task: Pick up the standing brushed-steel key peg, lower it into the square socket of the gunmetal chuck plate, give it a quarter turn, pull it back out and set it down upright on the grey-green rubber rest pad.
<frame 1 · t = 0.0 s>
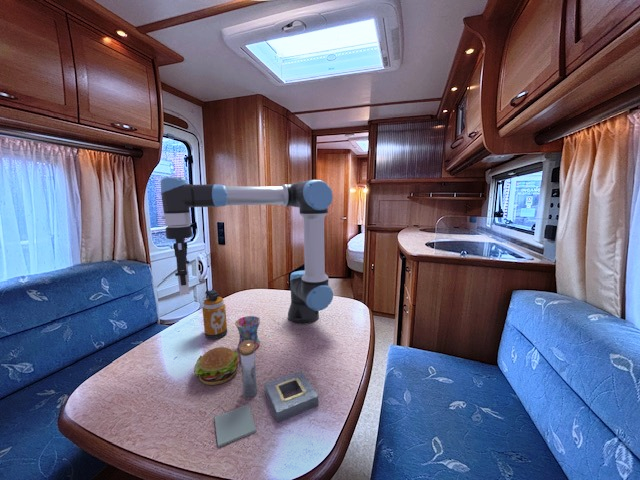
hand: (185, 287, 88), 28 cm above the table, fingers open, 13 cm apart
rest pad: (234, 425, 66), on the table
canister: (215, 334, 112), on the table
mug: (251, 344, 103), on the table
key peg: (250, 392, 77), on the table
chuck plate: (290, 398, 75), on the table
food: (217, 374, 86), on the table
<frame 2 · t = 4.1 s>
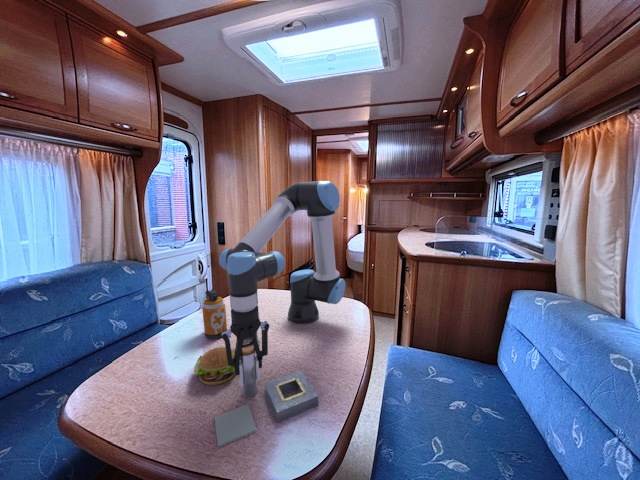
hand: (249, 380, 77), 4 cm above the table, fingers closed on key peg, 4 cm apart
key peg: (250, 392, 77), on the table, touching gripper
everything else where it was.
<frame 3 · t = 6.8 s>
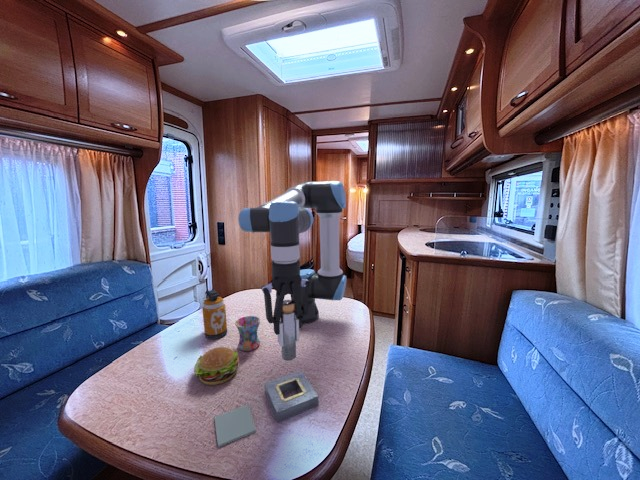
hand: (288, 341, 72), 18 cm above the table, fingers closed on key peg, 4 cm apart
key peg: (289, 356, 72), point 14 cm above the table, touching gripper
everything else where it was.
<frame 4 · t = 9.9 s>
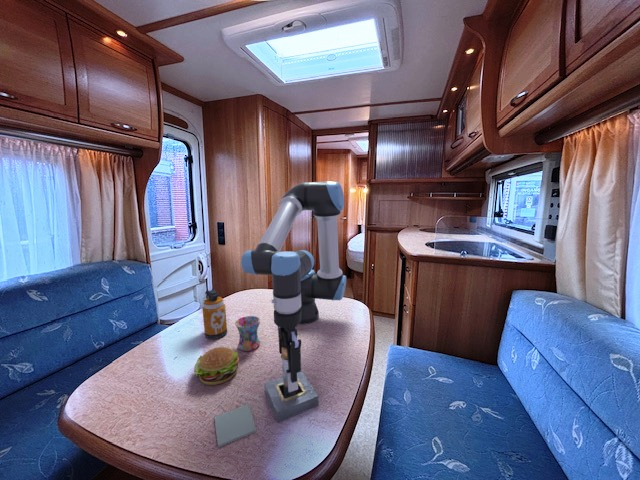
hand: (290, 384, 74), 5 cm above the table, fingers closed on key peg, 4 cm apart
key peg: (291, 398, 75), resting in chuck plate, touching gripper
everything else where it was.
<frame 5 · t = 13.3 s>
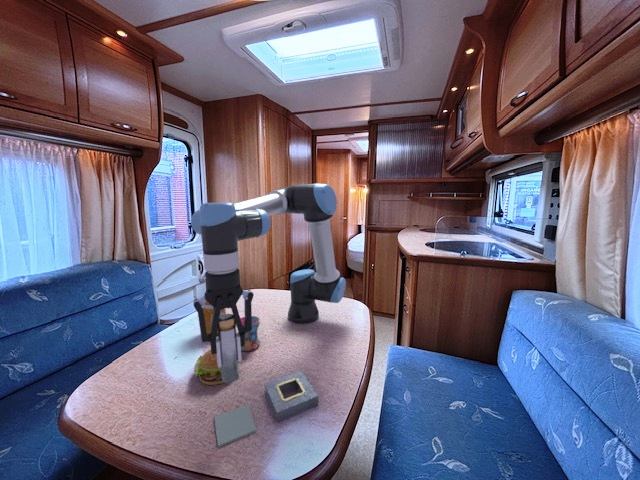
hand: (229, 361, 63), 18 cm above the table, fingers closed on key peg, 4 cm apart
key peg: (230, 377, 64), point 14 cm above the table, touching gripper
everything else where it was.
when the fingers open (5 cm above the table, at t = 15.7 s): key peg stays where it is, resting on rest pad.
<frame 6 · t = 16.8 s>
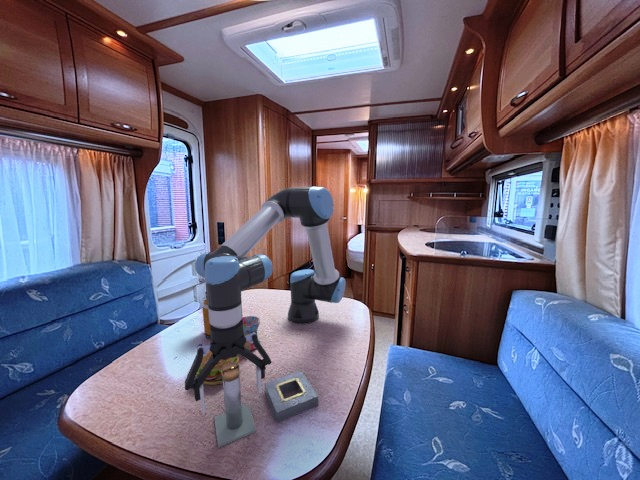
hand: (232, 399, 65), 8 cm above the table, fingers open, 13 cm apart
key peg: (234, 423, 66), point 1 cm above the table, touching rest pad
everything else where it was.
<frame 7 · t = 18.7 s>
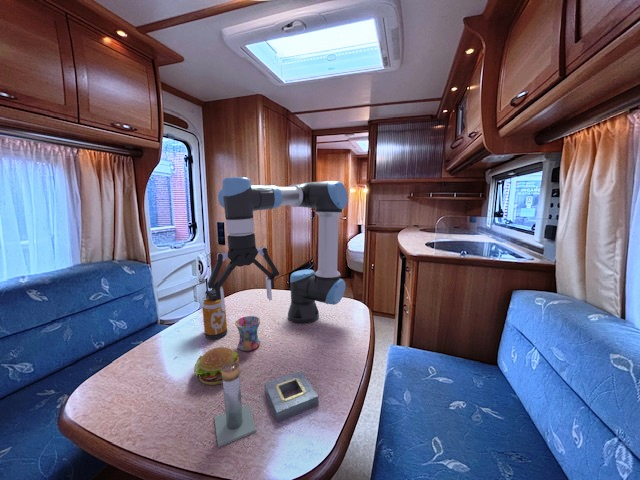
hand: (247, 303, 76), 27 cm above the table, fingers open, 13 cm apart
nothing on the table moved.
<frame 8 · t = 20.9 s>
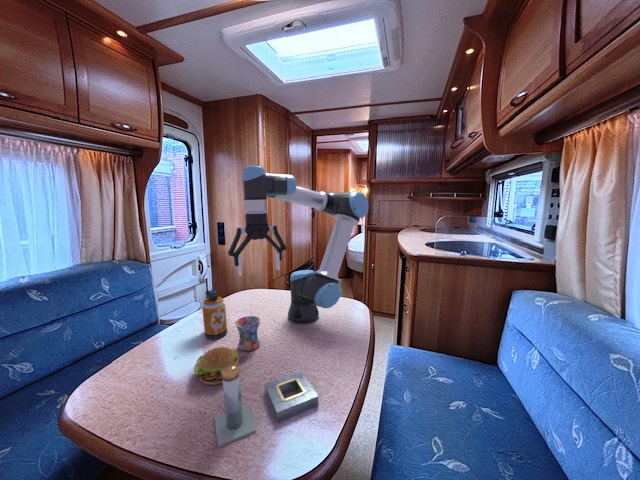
hand: (259, 272, 92), 32 cm above the table, fingers open, 13 cm apart
nothing on the table moved.
at the end: key peg inside the target area on the rest pad (0.0 cm from its centre), point 0.6 cm above the rest pad's base; the gripper is holding nothing; key peg tilted 0° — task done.
